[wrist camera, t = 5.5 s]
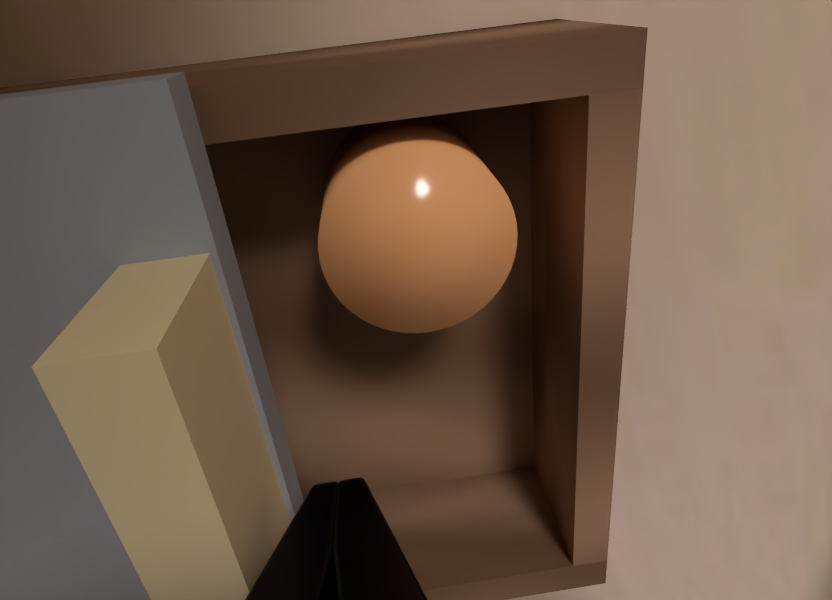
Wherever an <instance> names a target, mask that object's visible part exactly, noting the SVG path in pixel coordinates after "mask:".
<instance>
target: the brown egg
mask: <svg viewBox="0 0 832 600" xmlns="http://www.w3.org/2000/svg"><path fill="white" fill-rule="evenodd" d="M517 235H518V233H517V222H516V218H515V214H514V209H513V207H512V204H511V202H510V199H509V197H508V196H507V194H506V192H505V190H504V189H503V187H502V186H501V184H500V183H499V182H498V181H497V179H496V178H495V177H494V176H493V174H492V173H491V172H490V171H489V169H488V168H487V167H486V166H485V164H484V163H483V162H482V161H481V159H480V158H479V157H478V156H477V154H476V153H475V152H474V151H473V149H472V148H471V147H470V146H469V144H468V143H467V142H466V141H465V139H464V138H463V137H462V136H461V134H460V133H459V132H458V131H457V130H456V129H454V128H453V127H452V126H451V125H450V124H448V123H447V122H445V121H444V120H442V119H440V118H438V117H436V116H434V115H432V116H424V117H417V118H409V119H401V120H394V121H386V122H378V123H371V124H363V125H356V126H355V127H354V128H353V129H352V130H350V131H349V132H348V133H347V134H346V136H345V137H344V138H343V139H342V140H341V141H340V143H339V145H338V146H337V148H336V149H335V151H334V154H333V156H332V158H331V160H330V164H329V167H328V171H327V178H326V185H325V192H324V199H323V206H322V213H321V219H320V226H319V233H318V253H319V261H320V264H321V268H322V272H323V274H324V276H325V279H326V281H327V283H328V285H329V287H330V288H331V290H332V292H333V293H334V295H335V296H336V297H337V298H338V299H339V301H340V302H341V303H342V304H343V305H344V306H345V307H346V308H347V309H348V310H349V311H351V312H352V313H353V314H355V315H356V316H358V317H359V318H361V319H362V320H364V321H366V322H368V323H370V324H372V325H375V326H377V327H380V328H383V329H386V330H390V331H395V332H402V333H425V332H432V331H437V330H441V329H445V328H448V327H451V326H453V325H456V324H458V323H460V322H462V321H464V320H466V319H468V318H469V317H471V316H473V315H474V314H476V313H477V312H478V311H479V310H481V309H482V308H483V307H484V306H485V305H487V304H488V303H489V302H490V301H491V300H492V299H493V297H494V296H495V295H496V294H497V293H498V291H499V290H500V289H501V287H502V285H503V284H504V282H505V281H506V279H507V277H508V275H509V272H510V270H511V268H512V265H513V262H514V259H515V254H516V249H517Z"/></svg>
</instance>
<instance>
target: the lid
mask: <svg viewBox="0 0 832 600" xmlns="http://www.w3.org/2000/svg"><path fill="white" fill-rule="evenodd" d="M303 501H304V500H303V496H302V492H301V489H300V485H299V482H298V478H297V474H296V471H295V467H294V464H293V460H292V457H291V453H290V449H289V446H288V442H287V439H286V435H285V431H284V428H283V424H282V421H281V417H280V414H279V410H278V406H277V403H276V399H275V396H274V392H273V388H272V385H271V381H270V378H269V374H268V371H267V367H266V363H265V360H264V356H263V353H262V349H261V345H260V342H259V338H258V335H257V331H256V328H255V324H254V320H253V317H252V313H251V310H250V306H249V302H248V299H247V295H246V292H245V288H244V285H243V281H242V277H241V274H240V270H239V267H238V263H237V259H236V256H235V252H234V249H233V245H232V242H231V238H230V234H229V231H228V227H227V224H226V220H225V216H224V213H223V209H222V206H221V202H220V199H219V195H218V191H217V188H216V184H215V181H214V177H213V173H212V170H211V166H210V163H209V159H208V156H207V152H206V148H205V145H204V141H203V138H202V134H201V130H200V127H199V123H198V120H197V116H196V113H195V109H194V105H193V102H192V98H191V95H190V91H189V87H188V84H187V80H186V77H185V73H184V72H176V73H168V74H160V75H152V76H144V77H136V78H128V79H120V80H112V81H104V82H96V83H88V84H80V85H72V86H64V87H56V88H48V89H40V90H32V91H24V92H16V93H8V94H0V600H245V599H246V597H247V595H248V594H249V592H250V590H251V589H252V587H253V585H254V584H255V582H256V580H257V579H258V577H259V575H260V573H261V572H262V570H263V568H264V567H265V565H266V563H267V562H268V560H269V558H270V557H271V555H272V553H273V551H274V550H275V548H276V546H277V545H278V543H279V541H280V540H281V538H282V536H283V535H284V533H285V531H286V530H287V528H288V526H289V524H290V523H291V521H292V519H293V518H294V516H295V514H296V513H297V511H298V509H299V508H300V506H301V504H302V502H303Z"/></svg>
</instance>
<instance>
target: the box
mask: <svg viewBox="0 0 832 600" xmlns="http://www.w3.org/2000/svg"><path fill="white" fill-rule="evenodd" d="M646 41H647V28H645V27H634V26H624V25H613V24H603V23H593V22H582V21H572V20H561V19H553V20H545V21H537V22H529V23H521V24H513V25H505V26H497V27H489V28H481V29H473V30H465V31H457V32H449V33H441V34H433V35H425V36H417V37H409V38H401V39H393V40H385V41H377V42H369V43H361V44H353V45H345V46H337V47H328V48H320V49H312V50H304V51H296V52H288V53H280V54H272V55H264V56H256V57H248V58H240V59H232V60H224V61H216V62H208V63H200V64H192V65H184V66H176V67H168V68H160V69H152V70H144V71H136V72H128V73H120V74H112V75H104V76H96V77H88V78H79V79H71V80H63V81H55V82H47V83H39V84H31V85H23V86H15V87H7V88H0V94H8V93H16V92H24V91H32V90H40V89H48V88H56V87H64V86H72V85H80V84H88V83H96V82H104V81H112V80H120V79H128V78H136V77H144V76H152V75H160V74H168V73H176V72H184V73H185V77H186V80H187V84H188V87H189V91H190V95H191V98H192V102H193V105H194V109H195V113H196V116H197V120H198V123H199V127H200V130H201V134H202V138H203V141H204V145H205V148H206V152H207V156H208V159H209V163H210V166H211V170H212V173H213V177H214V181H215V184H216V188H217V191H218V195H219V199H220V202H221V206H222V209H223V213H224V216H225V220H226V224H227V227H228V231H229V234H230V238H231V242H232V245H233V249H234V252H235V256H236V259H237V263H238V267H239V270H240V274H241V277H242V281H243V285H244V288H245V292H246V295H247V299H248V302H249V306H250V310H251V313H252V317H253V320H254V324H255V328H256V331H257V335H258V338H259V342H260V345H261V349H262V353H263V356H264V360H265V363H266V367H267V371H268V374H269V378H270V381H271V385H272V388H273V392H274V396H275V399H276V403H277V406H278V410H279V414H280V417H281V421H282V424H283V428H284V431H285V435H286V439H287V442H288V446H289V449H290V453H291V457H292V460H293V464H294V467H295V471H296V474H297V478H298V482H299V485H300V489H301V492H302V496H303V500H304V499H305V497H306V496H307V494H308V492H309V491H310V489H311V487H312V486H314V485H315V484H320V483H326V482H332V481H337V482H339V481H341V480H346V479H352V478H359V477H362V478H364V479H365V481H366V483H367V484H368V486H369V488H370V490H371V492H372V494H373V496H374V498H375V500H376V502H377V504H378V506H379V507H380V509H381V511H382V513H383V515H384V517H385V519H386V521H387V523H388V525H389V527H390V529H391V530H392V532H393V534H394V536H395V538H396V540H397V542H398V544H399V546H400V548H401V550H402V552H403V554H404V555H405V557H406V559H407V561H408V563H409V565H410V567H411V569H412V571H413V573H414V575H415V577H416V578H417V580H418V582H419V584H420V586H421V588H422V590H423V592H424V594H425V596H426V598H427V600H504V599H510V598H516V597H522V596H529V595H535V594H541V593H547V592H553V591H559V590H565V589H572V588H578V587H584V586H590V585H596V584H602V583H605V580H606V567H607V554H608V541H609V528H610V514H611V501H612V488H613V475H614V462H615V449H616V436H617V422H618V409H619V396H620V383H621V370H622V357H623V343H624V330H625V317H626V304H627V291H628V278H629V264H630V251H631V238H632V225H633V212H634V199H635V185H636V172H637V159H638V146H639V133H640V120H641V106H642V93H643V80H644V67H645V54H646ZM432 115H434V116H436V117H438V118H440V119H442V120H444V121H445V122H447V123H448V124H450V125H451V126H452V127H453V128H454V129H456V130H457V131H458V132H459V133H460V134H461V136H462V137H463V138H464V139H465V141H466V142H467V143H468V144H469V146H470V147H471V148H472V149H473V151H474V152H475V153H476V154H477V156H478V157H479V158H480V159H481V161H482V162H483V163H484V164H485V166H486V167H487V168H488V169H489V171H490V172H491V173H492V174H493V176H494V177H495V178H496V179H497V181H498V182H499V183H500V184H501V186H502V187H503V189H504V190H505V192H506V194H507V196H508V197H509V199H510V202H511V204H512V207H513V209H514V214H515V218H516V222H517V233H518V235H517V249H516V254H515V259H514V262H513V265H512V268H511V270H510V272H509V275H508V277H507V279H506V281H505V282H504V284H503V285H502V287H501V289H500V290H499V291H498V293H497V294H496V295H495V296H494V297H493V299H492V300H491V301H490V302H489V303H488V304H487V305H485V306H484V307H483V308H482V309H481V310H479V311H478V312H477V313H476V314H474V315H473V316H471V317H469V318H468V319H466V320H464V321H462V322H460V323H458V324H456V325H453V326H451V327H448V328H445V329H441V330H437V331H432V332H425V333H402V332H395V331H390V330H386V329H383V328H380V327H377V326H375V325H372V324H370V323H368V322H366V321H364V320H362V319H361V318H359V317H358V316H356V315H355V314H353V313H352V312H351V311H349V310H348V309H347V308H346V307H345V306H344V305H343V304H342V303H341V302H340V301H339V299H338V298H337V297H336V296H335V295H334V293H333V292H332V290H331V288H330V287H329V285H328V283H327V281H326V279H325V276H324V274H323V272H322V268H321V264H320V261H319V253H318V233H319V226H320V219H321V213H322V206H323V199H324V192H325V185H326V178H327V171H328V167H329V164H330V160H331V158H332V156H333V154H334V151H335V149H336V148H337V146H338V145H339V143H340V141H341V140H342V139H343V138H344V137H345V136H346V134H347V133H348V132H349V131H350V130H352V129H353V128H354V127H355V126H356V125H363V124H371V123H378V122H386V121H394V120H401V119H409V118H417V117H424V116H432Z"/></svg>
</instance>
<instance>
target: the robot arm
mask: <svg viewBox="0 0 832 600" xmlns="http://www.w3.org/2000/svg"><path fill="white" fill-rule="evenodd" d="M245 600H427V598H426V596H425V594H424V592H423V590H422V588H421V586H420V584H419V582H418V580H417V578H416V577H415V575H414V573H413V571H412V569H411V567H410V565H409V563H408V561H407V559H406V557H405V555H404V554H403V552H402V550H401V548H400V546H399V544H398V542H397V540H396V538H395V536H394V534H393V532H392V530H391V529H390V527H389V525H388V523H387V521H386V519H385V517H384V515H383V513H382V511H381V509H380V507H379V506H378V504H377V502H376V500H375V498H374V496H373V494H372V492H371V490H370V488H369V486H368V484H367V483H366V481H365V479H364V478H362V477H359V478H352V479H346V480H341V481H339V482H337V481H332V482H326V483H320V484H315V485H314V486H312V487H311V489H310V491H309V492H308V494H307V496H306V497H305V499H304V501H303V502H302V504H301V506H300V508H299V509H298V511H297V513H296V514H295V516H294V518H293V519H292V521H291V523H290V524H289V526H288V528H287V530H286V531H285V533H284V535H283V536H282V538H281V540H280V541H279V543H278V545H277V546H276V548H275V550H274V551H273V553H272V555H271V557H270V558H269V560H268V562H267V563H266V565H265V567H264V568H263V570H262V572H261V573H260V575H259V577H258V579H257V580H256V582H255V584H254V585H253V587H252V589H251V590H250V592H249V594H248V595H247V597H246V599H245Z"/></svg>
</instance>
